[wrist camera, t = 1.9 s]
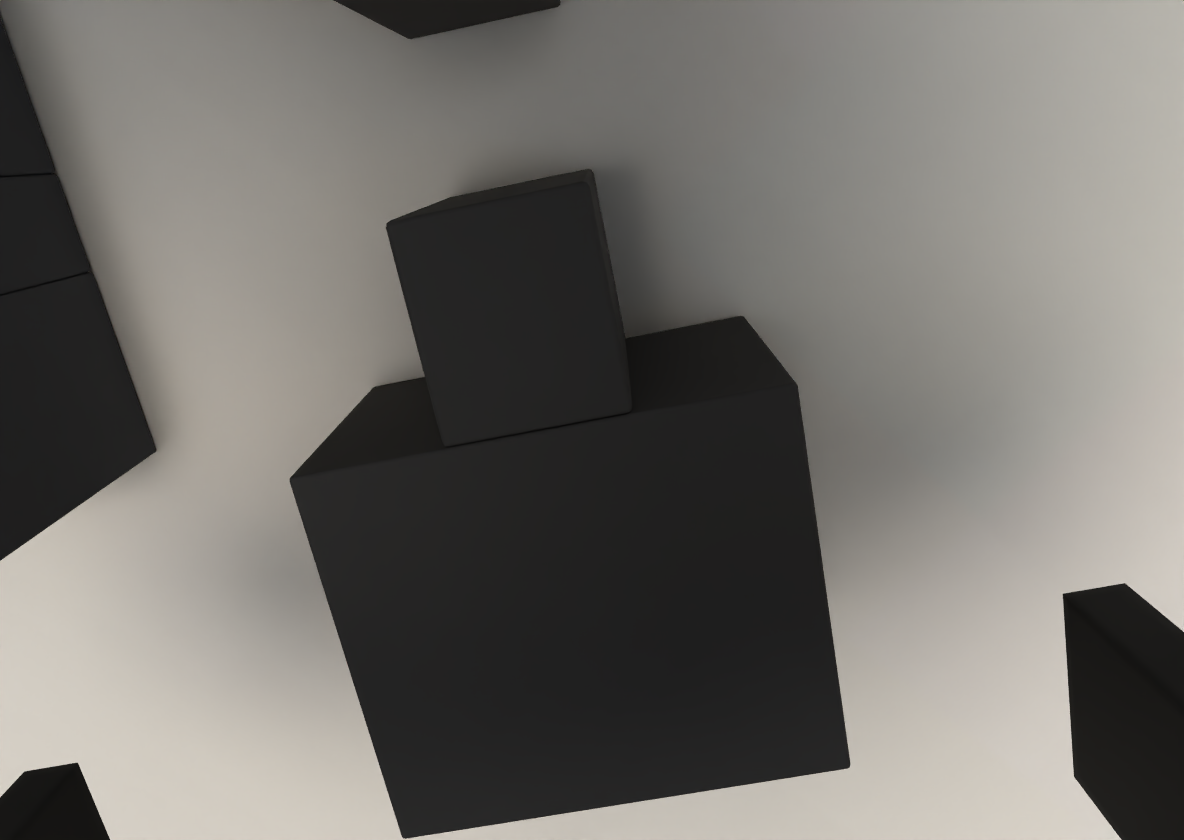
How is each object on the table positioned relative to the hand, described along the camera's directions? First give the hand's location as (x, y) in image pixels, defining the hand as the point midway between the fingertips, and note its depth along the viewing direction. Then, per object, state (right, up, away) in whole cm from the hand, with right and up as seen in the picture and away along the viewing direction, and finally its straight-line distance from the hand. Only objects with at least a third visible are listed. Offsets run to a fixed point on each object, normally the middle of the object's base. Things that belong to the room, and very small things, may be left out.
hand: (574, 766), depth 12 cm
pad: (0, +4, +8) cm, 9 cm away
